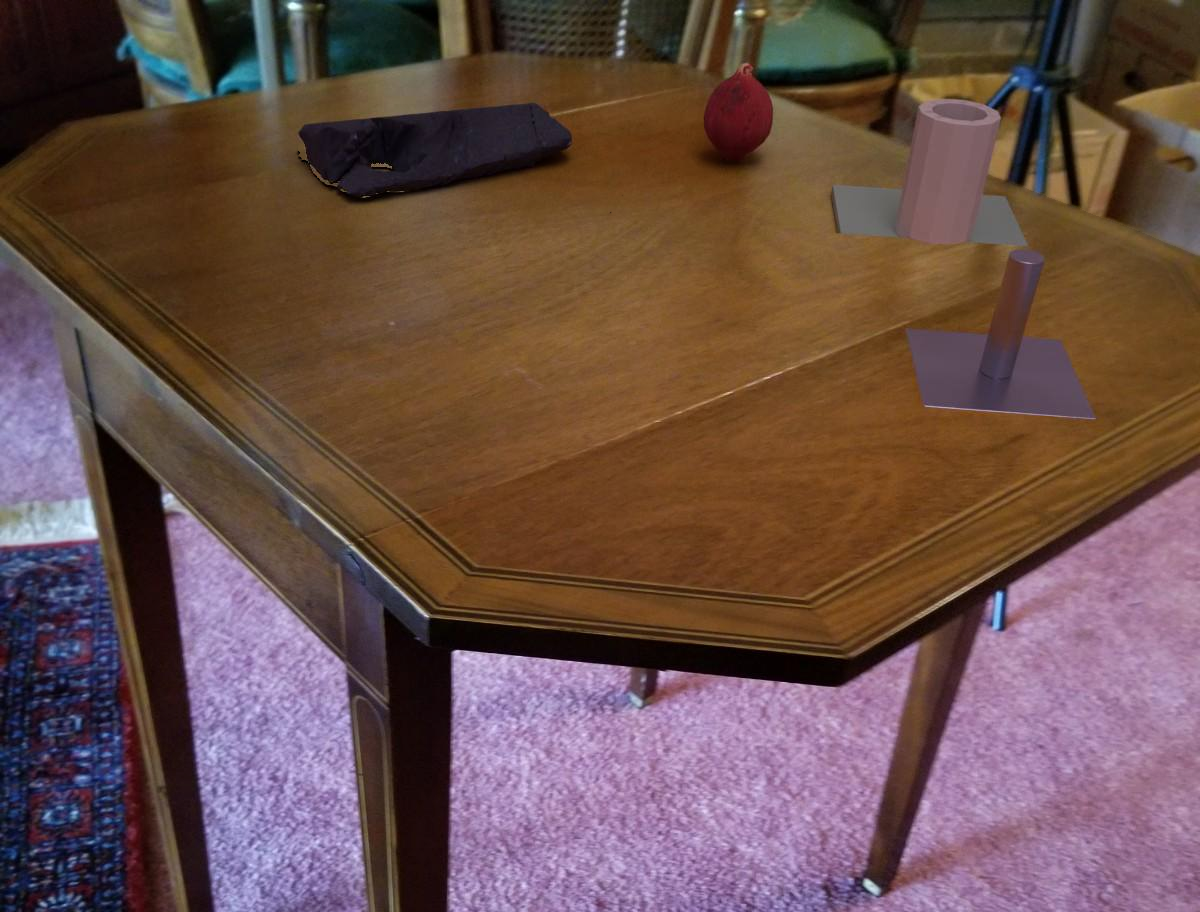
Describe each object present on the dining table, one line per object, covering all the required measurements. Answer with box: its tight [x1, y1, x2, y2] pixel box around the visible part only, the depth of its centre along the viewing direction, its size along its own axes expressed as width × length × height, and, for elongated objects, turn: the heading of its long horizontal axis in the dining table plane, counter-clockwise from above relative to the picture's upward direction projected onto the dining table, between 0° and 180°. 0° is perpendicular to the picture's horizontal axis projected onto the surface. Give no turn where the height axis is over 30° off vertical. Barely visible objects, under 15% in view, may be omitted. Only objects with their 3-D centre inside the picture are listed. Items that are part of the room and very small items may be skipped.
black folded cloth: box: [298, 102, 573, 198], centre depth 100 cm, size 15×22×5 cm
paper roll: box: [895, 98, 1002, 246], centre depth 88 cm, size 6×6×9 cm
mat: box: [830, 184, 1029, 247], centre depth 92 cm, size 14×18×1 cm
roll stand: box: [904, 248, 1097, 420], centre depth 72 cm, size 10×10×9 cm
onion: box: [703, 62, 774, 163], centre depth 101 cm, size 6×6×8 cm
